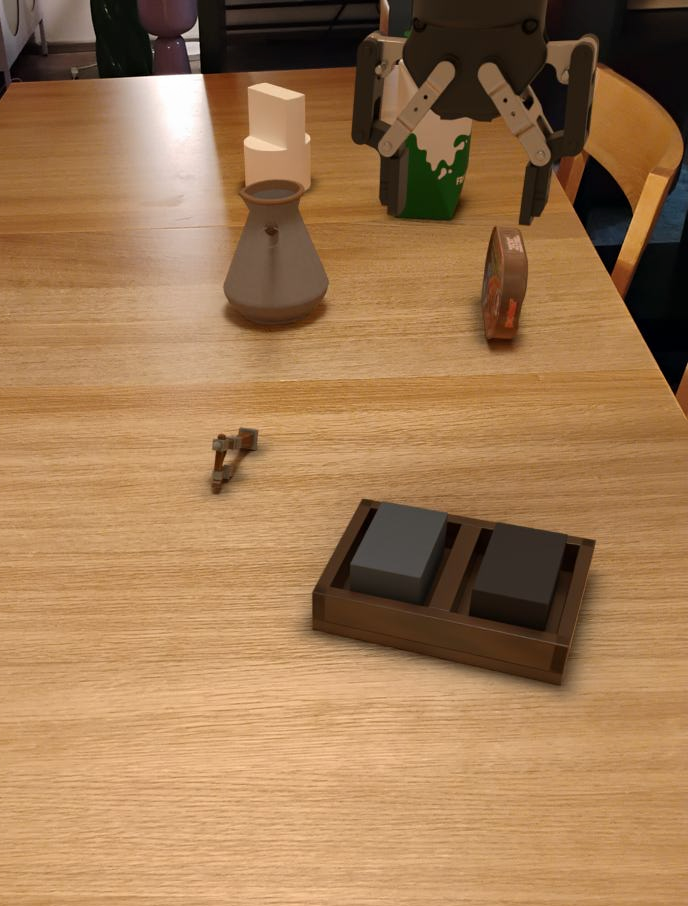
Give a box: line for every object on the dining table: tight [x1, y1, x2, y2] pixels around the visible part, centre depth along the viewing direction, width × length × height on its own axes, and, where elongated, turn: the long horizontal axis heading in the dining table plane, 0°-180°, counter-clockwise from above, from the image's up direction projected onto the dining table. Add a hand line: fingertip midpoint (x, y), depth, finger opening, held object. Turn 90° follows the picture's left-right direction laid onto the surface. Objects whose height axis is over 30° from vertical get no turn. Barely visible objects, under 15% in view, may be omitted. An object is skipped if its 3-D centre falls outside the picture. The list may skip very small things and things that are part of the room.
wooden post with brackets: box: [211, 426, 259, 489], centre depth 90 cm, size 2×8×4 cm, turn 157°
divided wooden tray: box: [311, 497, 597, 686], centre depth 74 cm, size 18×12×4 cm
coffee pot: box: [222, 179, 330, 326], centre depth 105 cm, size 21×12×15 cm, turn 176°
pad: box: [350, 500, 449, 606], centre depth 75 cm, size 5×8×4 cm, turn 157°
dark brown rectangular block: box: [469, 521, 569, 632], centre depth 72 cm, size 5×8×4 cm, turn 157°
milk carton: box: [394, 29, 474, 221], centre depth 125 cm, size 9×9×20 cm
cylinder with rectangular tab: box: [243, 82, 312, 192], centre depth 138 cm, size 9×9×12 cm
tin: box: [481, 225, 529, 340], centre depth 105 cm, size 15×3×8 cm, turn 172°
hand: (459, 216), depth 67 cm, fingers open, 8 cm apart
